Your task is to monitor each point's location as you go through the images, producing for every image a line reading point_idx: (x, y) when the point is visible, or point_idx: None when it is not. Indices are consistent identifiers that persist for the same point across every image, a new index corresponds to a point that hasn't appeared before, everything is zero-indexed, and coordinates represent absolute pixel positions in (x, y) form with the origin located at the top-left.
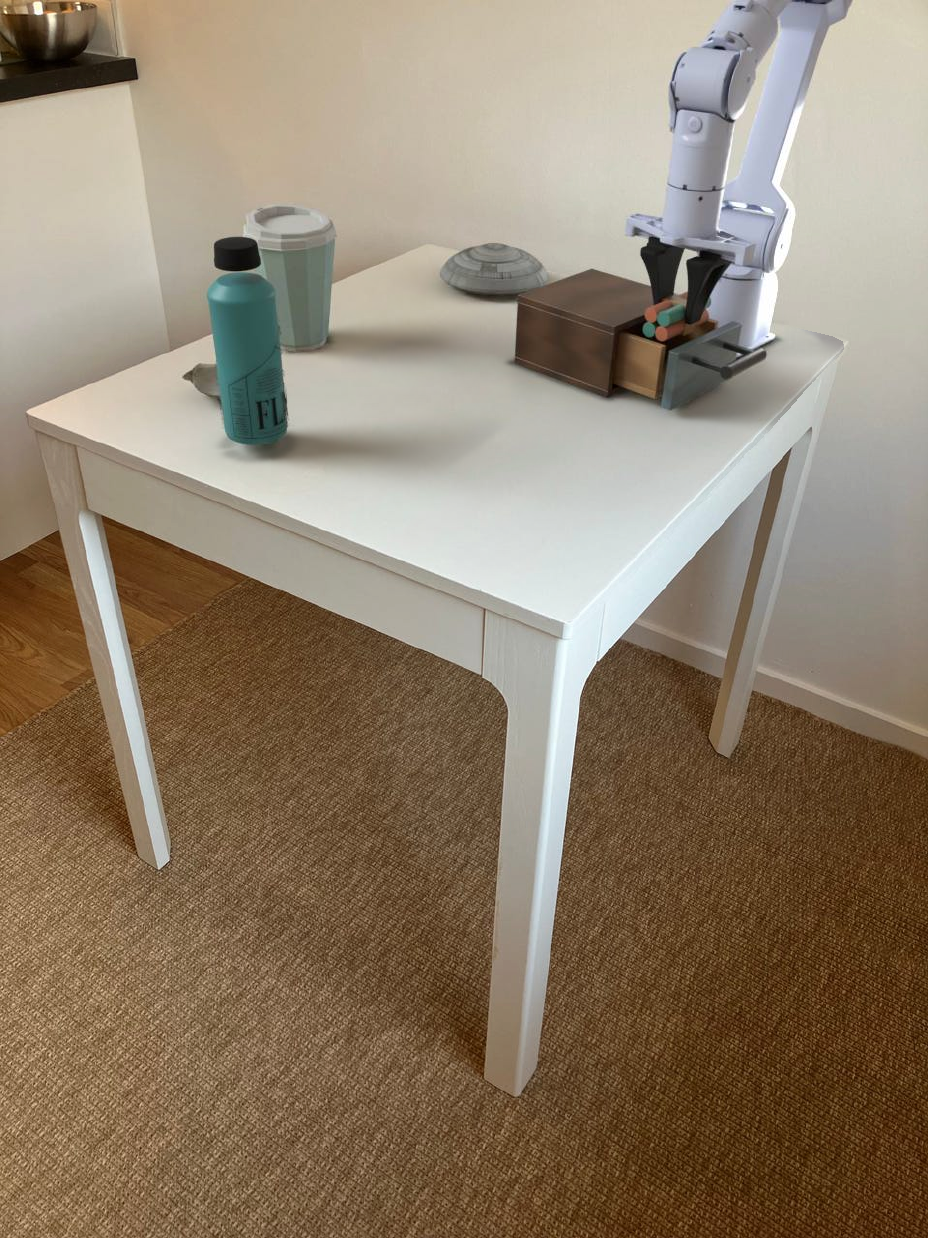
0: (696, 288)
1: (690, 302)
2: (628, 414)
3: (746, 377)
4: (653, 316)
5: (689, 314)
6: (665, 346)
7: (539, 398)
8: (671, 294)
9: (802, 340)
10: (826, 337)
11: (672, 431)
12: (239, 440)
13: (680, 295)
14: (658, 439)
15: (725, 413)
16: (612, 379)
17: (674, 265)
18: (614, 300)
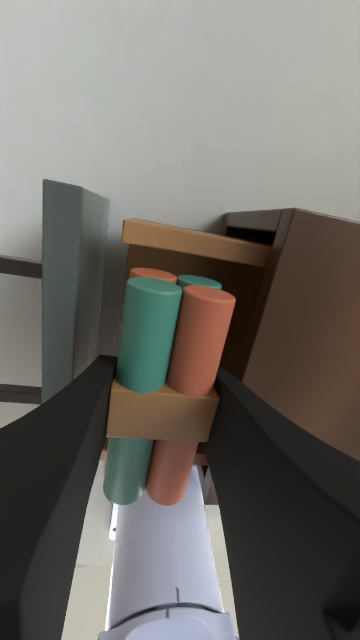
0: (28, 420)
1: (85, 385)
2: (162, 166)
3: None
4: (197, 289)
5: (95, 364)
6: (121, 237)
7: (335, 129)
8: (208, 445)
9: (81, 547)
10: None
11: (53, 141)
12: None
13: (180, 454)
14: (54, 79)
15: (24, 283)
16: (232, 223)
17: (241, 553)
18: (348, 392)
